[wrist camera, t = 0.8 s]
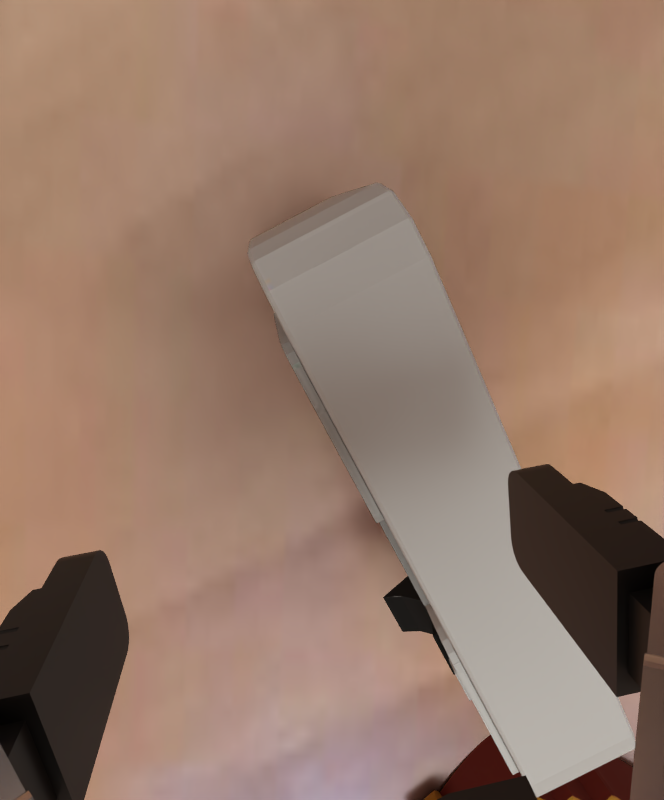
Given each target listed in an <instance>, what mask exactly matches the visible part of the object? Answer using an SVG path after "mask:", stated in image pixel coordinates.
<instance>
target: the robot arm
mask: <svg viewBox="0 0 664 800" xmlns="http://www.w3.org/2000/svg"><path fill="white" fill-rule="evenodd" d="M508 495H509V512H510V529H511V542H512V548H513V552H514V555H515V558H516V561H517V563H518V565H519V567H520V569H521V571H522V572H523V573H524V575H525V576H526V577H527V579H528V580H529V581H530V583H531V584H532V585H533V587H534V588H535V589H536V591H537V592H538V593H539V595H540V596H541V597H542V599H543V600H544V601H545V603H546V604H547V605H548V607H549V608H550V609H551V611H552V612H553V613H554V615H555V616H556V617H557V619H558V620H559V621H560V623H561V624H562V625H563V627H564V628H565V629H566V631H567V632H568V633H569V635H570V636H571V637H572V639H573V640H574V641H575V643H576V644H577V645H578V647H579V648H580V649H581V651H582V652H583V653H584V655H585V656H586V657H587V659H588V660H589V661H590V663H591V664H592V665H593V667H594V668H595V669H596V671H597V672H598V673H599V674H600V676H601V677H602V678H603V680H604V681H605V682H606V684H607V685H608V686H609V688H610V689H611V690H612V692H613V693H614V694H615V696H616V697H619V696H624V695H628V694H632V693H637V692H641V693H640V703H639V713H638V723H637V733H636V743H635V753H634V763H633V773H632V783H631V793H630V800H664V538H662V537H661V536H660V535H659V534H657V533H656V532H655V531H653V530H652V529H651V528H650V527H648V526H647V525H646V524H645V523H643V522H642V521H638V520H637V517H636V516H634V515H633V514H632V513H631V512H629V511H628V510H627V509H623V506H622V505H621V504H619V503H618V502H617V501H615V500H614V499H613V498H612V497H610V496H609V495H608V494H607V493H605V492H603V491H600V490H598V489H595V488H593V487H590V486H588V485H585V484H582V483H576V484H572V483H571V482H570V481H569V480H568V479H566V478H565V477H564V476H563V475H562V474H560V473H559V472H558V471H557V470H556V469H554V468H553V467H552V466H551V465H549V464H545V465H540V466H535V467H530V468H524V469H519V470H514V471H511V472H510V473H509V476H508ZM128 644H129V630H128V623H127V618H126V614H125V611H124V608H123V605H122V602H121V598H120V595H119V592H118V589H117V586H116V582H115V579H114V576H113V573H112V570H111V566H110V563H109V560H108V558H107V556H106V554H105V553H104V552H103V551H101V550H99V551H94V552H89V553H83V554H78V555H73V556H68V557H63V558H60V559H59V560H58V561H57V562H56V564H55V566H54V568H53V569H52V571H51V573H50V574H49V576H48V578H47V580H46V581H45V583H44V585H43V587H42V588H41V589H36V590H32V591H31V592H30V593H29V594H28V595H27V596H26V597H25V598H23V599H22V600H21V601H20V602H19V603H18V604H17V605H16V606H14V607H13V608H12V609H11V610H10V611H9V613H8V615H7V616H6V618H5V619H4V621H3V623H2V624H1V626H0V800H84V798H85V794H86V791H87V788H88V784H89V781H90V777H91V774H92V771H93V767H94V764H95V760H96V757H97V754H98V750H99V747H100V743H101V740H102V737H103V733H104V730H105V726H106V723H107V720H108V716H109V713H110V709H111V706H112V703H113V699H114V696H115V692H116V689H117V686H118V682H119V679H120V675H121V672H122V669H123V665H124V662H125V658H126V655H127V651H128ZM437 800H537V798H536V795H535V793H534V791H533V789H532V787H531V785H530V783H529V781H528V779H527V777H526V775H525V776H521V777H517V778H513V779H508V780H504V781H500V782H496V783H491V784H487V785H483V786H478V787H474V788H470V789H466V790H461V791H457V792H453V793H449V794H446V795H445V796H443V797H441V798H439V799H437Z"/></svg>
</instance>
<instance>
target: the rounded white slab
mask: <svg viewBox="0 0 664 800" xmlns="http://www.w3.org/2000/svg"><path fill="white" fill-rule="evenodd" d="M248 257H249V261H250V263H251V265H252V268H253V270H254V273H255V275H256V277H257V279H258V281H259V283H260V285H261V287H262V289H263V291H264V293H265V295H266V297H267V299H268V301H269V303H270V305H271V307H272V309H273V311H274V312H275V313H274V318H275V322H276V327H277V331H278V336H279V340H280V343H281V346H282V348H283V350H284V352H285V355H286V357H287V359H288V361H289V363H290V365H291V366H292V368H293V370H294V372H295V374H296V376H297V378H298V379H299V381H300V383H301V385H302V387H303V389H304V391H305V392H306V394H307V396H308V398H309V400H310V402H311V403H312V405H313V407H314V409H315V411H316V413H317V415H318V416H319V418H320V420H321V422H322V424H323V426H324V427H325V429H326V431H327V433H328V435H329V437H330V439H331V440H332V442H333V444H334V446H335V448H336V450H337V451H338V453H339V455H340V457H341V459H342V461H343V463H344V464H345V466H346V468H347V470H348V472H349V474H350V476H351V477H352V479H353V481H354V483H355V485H356V487H357V488H358V490H359V492H360V494H361V496H362V498H363V500H364V501H365V503H366V505H367V507H368V509H369V511H370V512H371V514H372V516H373V518H374V520H375V521H376V523H378V522H379V523H380V525H381V527H382V528H383V530H384V532H385V534H386V536H387V538H388V540H389V541H390V543H391V545H392V547H393V549H394V551H395V553H396V554H397V556H398V558H399V560H400V562H401V564H402V566H403V567H404V569H405V571H406V573H407V575H408V576H407V577H406V578H405V579H404V580H403V581H402V582H400V583H399V584H398V585H397V586H396V587H395V588H393V589H392V590H391V591H390V592H389V593H388V594H386V595H385V596H384V597H383V598H384V600H385V601H386V603H387V605H388V607H389V608H390V610H391V612H392V614H393V615H394V617H395V619H396V621H397V622H398V624H399V626H400V628H401V630H402V631H403V632H405V631H422V632H426V633H430V634H433V637H434V639H435V641H436V643H437V645H438V647H439V648H440V650H441V652H442V654H443V656H444V658H445V659H446V661H447V663H448V665H449V667H450V669H451V670H452V672H453V674H455V675H456V676H457V678H458V680H459V682H460V684H461V686H462V688H463V689H464V691H465V693H466V695H467V697H468V699H469V700H472V701H473V703H474V705H475V707H476V708H477V710H478V712H479V714H480V716H481V718H482V719H483V721H484V723H485V725H486V727H487V729H488V731H489V732H490V734H491V736H492V738H493V740H494V742H495V743H496V745H497V747H498V749H499V751H500V753H501V755H502V756H503V758H504V760H505V762H506V764H507V766H508V767H509V769H510V771H511V773H512V774H513V775H514V774H516V773H518V772H520V774H521V776H525V775H526V777H527V779H528V781H529V783H530V785H531V787H532V789H533V791H534V793H535V795H536V797H539V796H541V795H543V794H545V793H547V792H549V791H551V790H553V789H555V788H557V787H559V786H561V785H563V784H565V783H567V782H569V781H571V780H573V779H575V778H577V777H579V776H581V775H583V774H585V773H587V772H589V771H591V770H593V769H595V768H597V767H600V766H602V765H604V764H606V763H608V762H610V761H612V760H614V759H616V758H618V757H620V756H622V755H624V754H626V753H628V752H630V751H632V750H634V749H635V743H636V742H635V738H634V734H633V731H632V729H631V727H630V724H629V722H628V720H627V717H626V715H625V712H624V710H623V708H622V705H621V703H620V701H619V698H618V697H616V696H615V694H614V693H613V692H612V690H611V689H610V688H609V686H608V685H607V684H606V682H605V681H604V680H603V678H602V677H601V676H600V674H599V673H598V672H597V671H596V669H595V668H594V667H593V665H592V664H591V663H590V661H589V660H588V659H587V657H586V656H585V655H584V653H583V652H582V651H581V649H580V648H579V647H578V645H577V644H576V643H575V641H574V640H573V639H572V637H571V636H570V635H569V633H568V632H567V631H566V629H565V628H564V627H563V625H562V624H561V623H560V621H559V620H558V619H557V617H556V616H555V615H554V613H553V612H552V611H551V609H550V608H549V607H548V605H547V604H546V603H545V601H544V600H543V599H542V597H541V596H540V595H539V593H538V592H537V591H536V589H535V588H534V587H533V585H532V584H531V583H530V581H529V580H528V579H527V577H526V576H525V575H524V573H523V572H522V571H521V569H520V567H519V565H518V563H517V561H516V558H515V555H514V552H513V548H512V542H511V529H510V512H509V495H508V476H509V473H510V472H511V471H514V470H519V469H521V467H520V465H519V463H518V460H517V458H516V455H515V453H514V451H513V448H512V446H511V444H510V441H509V439H508V437H507V434H506V432H505V430H504V427H503V425H502V422H501V420H500V418H499V415H498V413H497V411H496V408H495V406H494V404H493V401H492V399H491V396H490V394H489V392H488V389H487V387H486V385H485V382H484V380H483V378H482V375H481V373H480V371H479V368H478V366H477V363H476V361H475V359H474V356H473V354H472V352H471V349H470V347H469V345H468V342H467V340H466V338H465V335H464V333H463V330H462V328H461V326H460V323H459V321H458V319H457V316H456V314H455V312H454V309H453V307H452V305H451V302H450V300H449V297H448V295H447V293H446V290H445V288H444V286H443V283H442V281H441V279H440V276H439V274H438V272H437V269H436V267H435V264H434V262H433V260H432V257H431V255H430V253H429V251H428V249H427V247H426V245H425V243H424V241H423V239H422V237H421V235H420V233H419V231H418V229H417V227H416V225H415V223H414V221H413V219H412V217H411V216H410V214H409V213H408V212H407V210H406V209H405V207H404V206H403V204H402V203H401V202H400V200H399V199H398V197H397V196H396V195H395V193H394V192H393V191H392V190H390V189H389V188H387V187H386V186H384V185H382V184H381V183H374V184H371V185H368V186H364V187H361V188H358V189H355V190H352V191H349V192H346V193H343V194H339V195H336V196H333V197H330V198H328V199H326V200H325V201H323V202H321V203H319V204H317V205H315V206H313V207H311V208H309V209H307V210H306V211H304V212H302V213H300V214H298V215H296V216H294V217H292V218H290V219H288V220H287V221H285V222H283V223H281V224H279V225H277V226H275V227H273V228H271V229H269V230H268V231H266V232H264V233H262V234H260V235H258V236H256V237H254V238H252V239H251V240H250V243H249V248H248Z"/></svg>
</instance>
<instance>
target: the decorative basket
mask: <svg viewBox="0 0 664 800" xmlns="http://www.w3.org/2000/svg"><path fill="white" fill-rule="evenodd" d="M632 773H633V767H632V766H630V765H628V764H627V763H625V762H623V761H622V760H620V759H618V758H616V759H614V760H612V761H610V762H608V763H606V764H604V765H602V766H600V767H597V768H595V769H593V770H591V771H589V772H587V773H585V774H583V775H581V776H579V777H577V778H575V779H573V780H571V781H569V782H567V783H565V784H563V785H561V786H559V787H557V788H555V789H553V790H551V791H549V792H547V793H545V794H543V795H541V796H539V797H536V798H537V800H630V793H631V783H632ZM517 777H521V774H520V772H518V773H516V774H514V775H513V774H512V773H511V771H510V769H509V767H508V766H507V764H506V762H505V760H504V758H503V756H502V755H501V753H500V751H499V749H498V747H497V745H496V743H495V742H494V740H493V738H492V736H491V735H490V736H488V737H487V738H486V739H485V740H483V741H482V742H481V743H480V744H479V745H478V746H477V747H476V748H475V749H474V750H473V751H472V752H471V753H470V754H469V755H468V757H467V758H466V759H465V760H464V761H463V763H462V764H461V765H460V766H459V767H458V769H457V770H456V771H455V772H454V774H453V775H452V776H451V778H450V779H449V780H448V782H447V783H446V784H445V786H444V787H443V789H442V790H441V792H439V791H435V790H434V791H433V792H431V793H430V794H429V795H428V796H427V797H426V798H425V799H423V800H437V799H439V798H441V797H443V796H445V795H446V794H449V793H453V792H457V791H461V790H466V789H470V788H474V787H478V786H483V785H487V784H491V783H496V782H500V781H504V780H508V779H513V778H517Z"/></svg>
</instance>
